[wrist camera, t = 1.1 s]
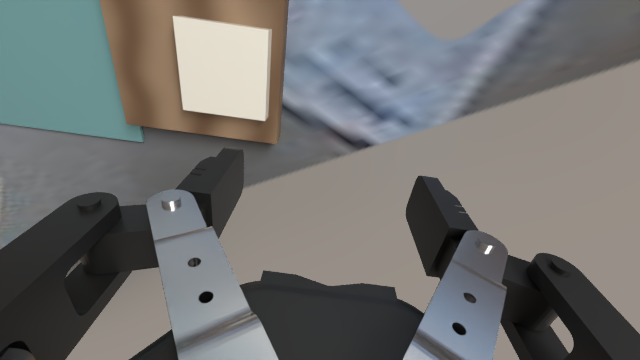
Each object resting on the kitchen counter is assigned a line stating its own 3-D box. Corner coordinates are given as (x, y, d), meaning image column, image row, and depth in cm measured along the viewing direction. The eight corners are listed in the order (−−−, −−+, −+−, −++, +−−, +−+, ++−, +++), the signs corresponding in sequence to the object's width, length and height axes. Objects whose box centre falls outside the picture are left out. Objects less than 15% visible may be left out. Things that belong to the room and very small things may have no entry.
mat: (-29, 117, 33) (-33, 118, 33) (-147, -119, 23) (-154, -121, 23) (144, 140, 34) (142, 142, 34) (102, -79, 24) (99, -80, 24)
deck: (140, 116, 33) (126, 123, 31) (111, -35, 26) (90, -39, 23) (279, 135, 33) (276, 144, 31) (289, -8, 26) (285, -9, 24)
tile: (190, 105, 29) (183, 109, 28) (181, 15, 25) (172, 15, 24) (268, 116, 30) (265, 121, 28) (271, 29, 26) (268, 30, 24)
